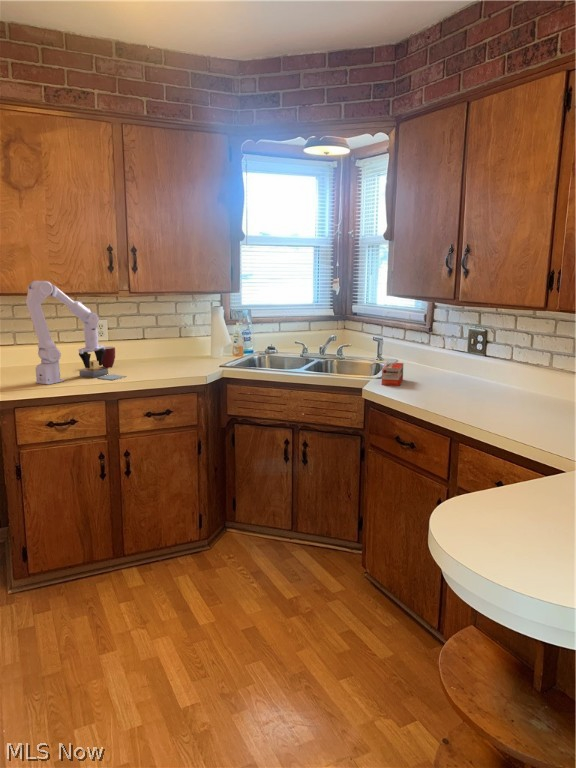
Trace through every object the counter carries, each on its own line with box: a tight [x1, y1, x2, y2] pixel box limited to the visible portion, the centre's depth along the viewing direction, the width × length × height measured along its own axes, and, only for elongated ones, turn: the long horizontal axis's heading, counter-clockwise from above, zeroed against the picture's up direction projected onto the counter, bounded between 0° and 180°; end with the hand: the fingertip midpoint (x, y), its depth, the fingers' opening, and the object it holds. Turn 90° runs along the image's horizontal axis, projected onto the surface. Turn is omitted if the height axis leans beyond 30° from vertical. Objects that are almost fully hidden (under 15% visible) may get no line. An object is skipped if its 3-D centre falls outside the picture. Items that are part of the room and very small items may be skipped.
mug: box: [102, 346, 116, 369], centre depth 279 cm, size 10×8×10 cm
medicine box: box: [381, 361, 404, 387], centre depth 243 cm, size 15×8×8 cm, turn 164°
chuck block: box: [78, 367, 109, 379], centre depth 257 cm, size 9×9×3 cm
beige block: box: [88, 359, 100, 371], centre depth 257 cm, size 4×4×7 cm
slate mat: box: [96, 373, 126, 381], centre depth 253 cm, size 9×9×1 cm
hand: (93, 366), depth 256 cm, fingers open, 7 cm apart
